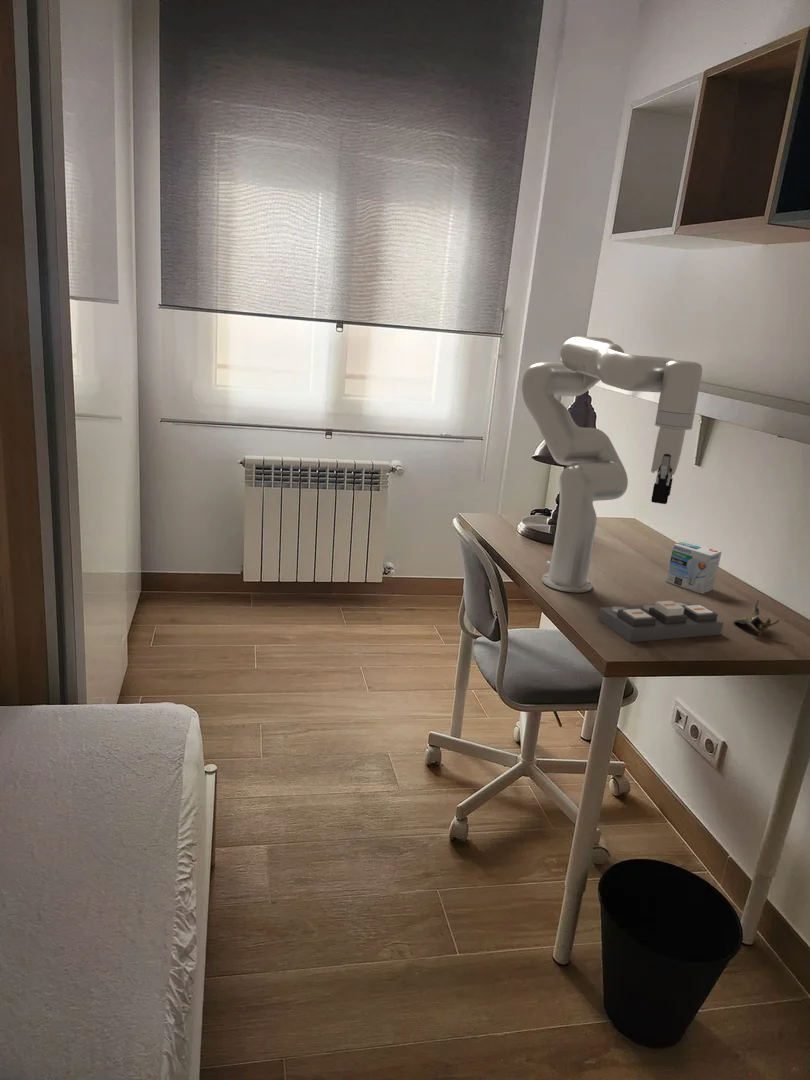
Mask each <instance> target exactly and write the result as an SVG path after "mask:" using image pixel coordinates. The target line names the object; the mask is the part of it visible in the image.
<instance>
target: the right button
mask: <svg viewBox="0 0 810 1080" xmlns="http://www.w3.org/2000/svg"><path fill="white" fill-rule="evenodd" d="M701 605H702V604H700V605H698V604H692V605H690V606H685V608H687V609H688V610H690V611H692V612H694V613H695V614H697V615H702V614H713V612H714V611H713V610H711V609H709V608H708V607H706V606H704V605H702V606H701ZM703 606H704V607H703ZM705 607H706V608H705ZM707 608H708V609H709V610H708V609H707ZM710 610H711V611H710ZM712 611H713V612H712Z"/></svg>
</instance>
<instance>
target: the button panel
mask: <svg viewBox="0 0 810 1080" xmlns="http://www.w3.org/2000/svg"><path fill="white" fill-rule="evenodd" d="M675 603H676V604H678V605H680V606H682V607H683V608H684V613H683V615H679V616H665V615H664V614H662V613H661V612H659V611H657V610H656V609H654V607H655V603H654V604H653V603H652V604H651V603H650V604H638V605H636V604H635V605H634V604H633V605H623V606H605V607H599V610H598V615H597V621H598V620H600V621H601V622H602V623H601V622H600V621H599V622H600V623H601V624H603V623H604V624H605V625H604V624H603V625H604V626H606V625H607V626H608V627H609V629H610V628H611V629H612V630H611V629H610V630H611V631H613V633H616V635H618V636H620V637H621V638H622V639H624V640H626V641H627V642H629V643H635V642H637V643H638V642H645V641H658V640H659V641H660V640H661V641H662V640H671V639H685V638H695V637H707V636H720V635H722V630H723V627H724V622H723V621H722V620H721V619H718V615H719V614H718V613H717V612H715V611H714V610H712V609H710V608H708V607H706V606H704V605H702V604H697V605H701V606H703V607H705V608H707V609H708V610H710V611H712V612H713V614H702V615H697V614H695V613H694V612H692V611H690V610H688V609H687V608H685V606H690V605H693V603H690V602H689V601H685V602H675ZM628 609H641V610H642V611H644V612H645V613H647V614H648V615H650V616H652V618H645V619H634V618H632V617H631V616H629V615H627V614H626V613H624V612H623V610H628ZM607 626H606V627H607ZM608 627H607V628H608Z"/></svg>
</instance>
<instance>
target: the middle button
mask: <svg viewBox="0 0 810 1080" xmlns="http://www.w3.org/2000/svg"><path fill="white" fill-rule="evenodd" d="M676 603H677V602H674V601H673V600H661V601H660V600H659V601H655V602H654V604H655V607H654V609H656V610H657V611H659V612H661V613H662V614H664V615H665V616H679V615H683V613H684V608H683V607H682V606H680V605H678V604H676Z"/></svg>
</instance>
